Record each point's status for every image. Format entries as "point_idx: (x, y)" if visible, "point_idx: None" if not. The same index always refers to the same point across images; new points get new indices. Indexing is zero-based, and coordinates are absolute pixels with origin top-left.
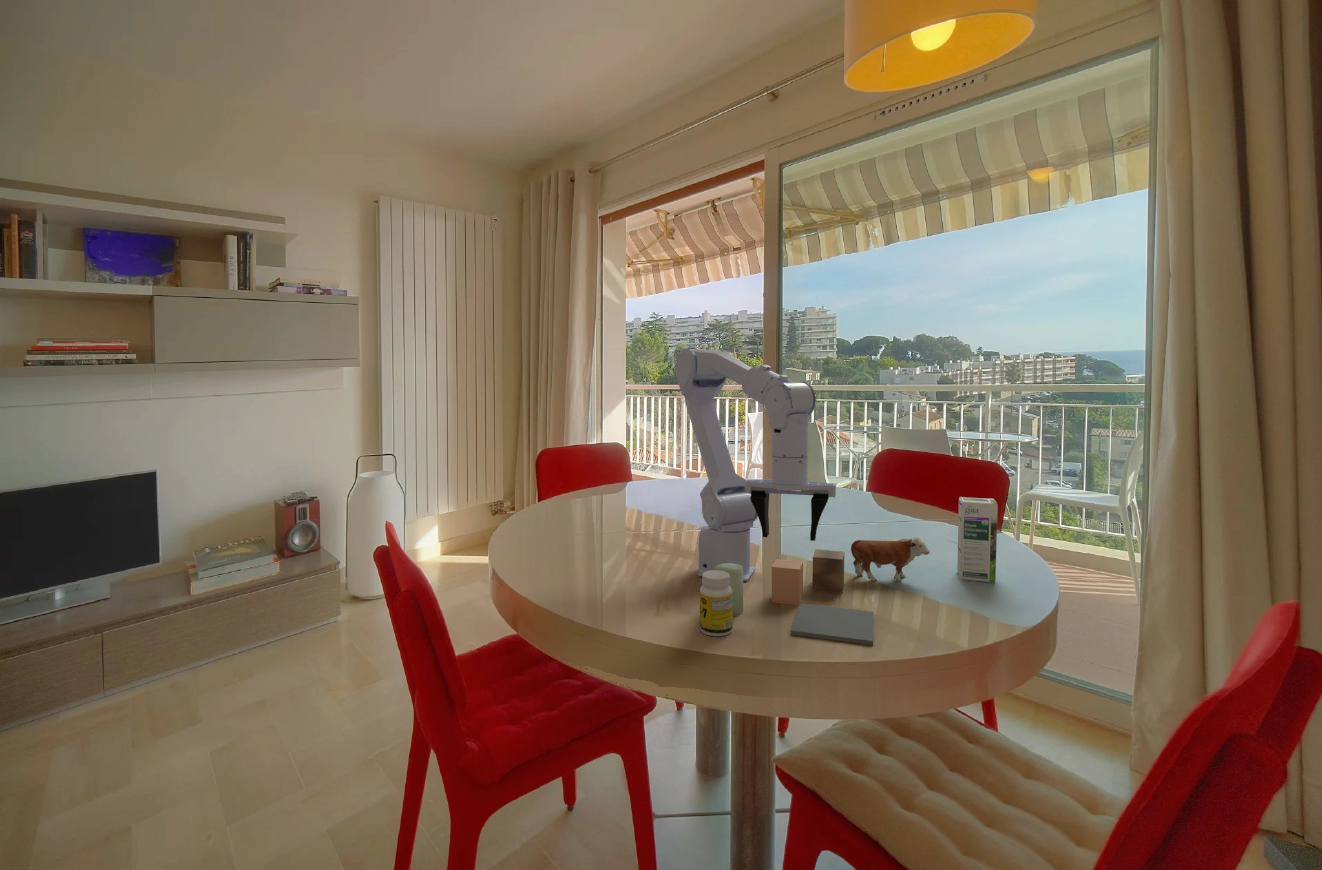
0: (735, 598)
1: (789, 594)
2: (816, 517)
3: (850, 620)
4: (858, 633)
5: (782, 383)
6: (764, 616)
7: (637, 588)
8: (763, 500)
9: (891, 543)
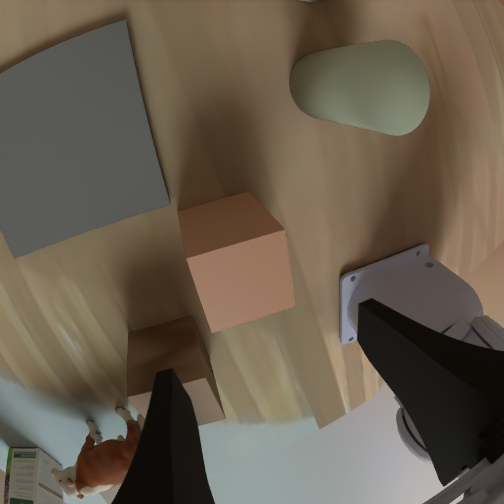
0: (318, 56)
1: (207, 213)
2: (144, 469)
3: (24, 174)
4: None
5: None
6: (230, 89)
7: (484, 135)
8: (501, 398)
9: (101, 479)
